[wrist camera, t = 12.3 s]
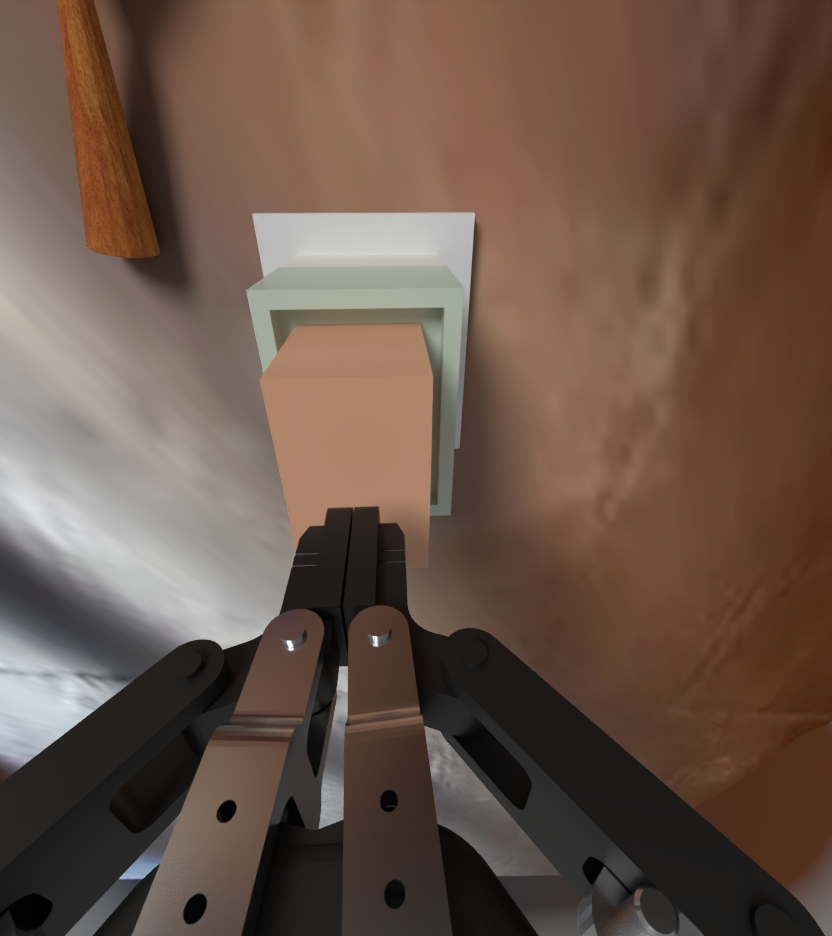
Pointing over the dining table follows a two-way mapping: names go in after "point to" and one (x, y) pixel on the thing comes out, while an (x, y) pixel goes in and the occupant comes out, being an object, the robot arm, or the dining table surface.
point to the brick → (354, 425)
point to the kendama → (102, 141)
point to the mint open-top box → (375, 296)
